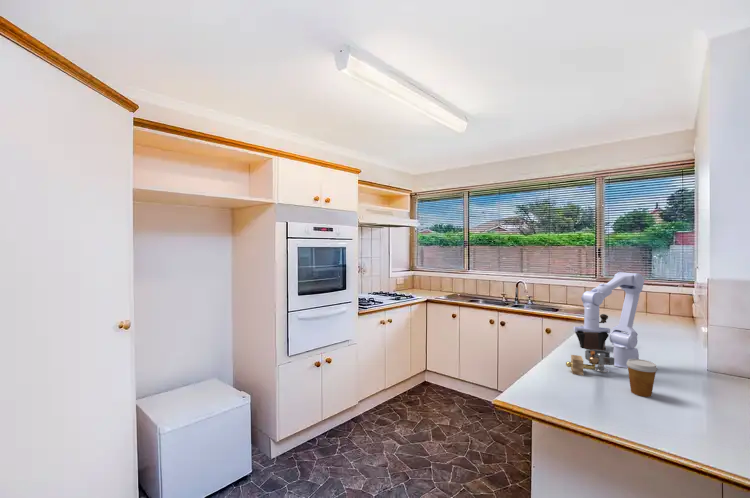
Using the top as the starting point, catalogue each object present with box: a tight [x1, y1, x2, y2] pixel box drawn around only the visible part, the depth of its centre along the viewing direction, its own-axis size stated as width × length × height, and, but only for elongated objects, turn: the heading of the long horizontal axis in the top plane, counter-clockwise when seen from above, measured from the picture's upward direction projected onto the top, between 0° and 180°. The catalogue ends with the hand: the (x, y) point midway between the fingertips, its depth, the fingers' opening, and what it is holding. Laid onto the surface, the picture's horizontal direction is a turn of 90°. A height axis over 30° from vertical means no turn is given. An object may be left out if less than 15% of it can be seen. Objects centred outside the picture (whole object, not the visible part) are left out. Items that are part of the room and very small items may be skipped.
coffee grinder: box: [583, 313, 609, 351], centre depth 193 cm, size 16×11×18 cm
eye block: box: [570, 354, 584, 376], centre depth 155 cm, size 4×7×6 cm, turn 156°
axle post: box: [594, 364, 610, 374], centre depth 158 cm, size 6×6×4 cm
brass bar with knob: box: [565, 356, 599, 371], centre depth 154 cm, size 13×4×6 cm, turn 66°
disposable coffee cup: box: [626, 359, 659, 398], centre depth 133 cm, size 10×10×12 cm
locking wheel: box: [584, 349, 614, 366], centre depth 158 cm, size 10×12×5 cm
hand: (591, 348), depth 156 cm, fingers open, 7 cm apart
